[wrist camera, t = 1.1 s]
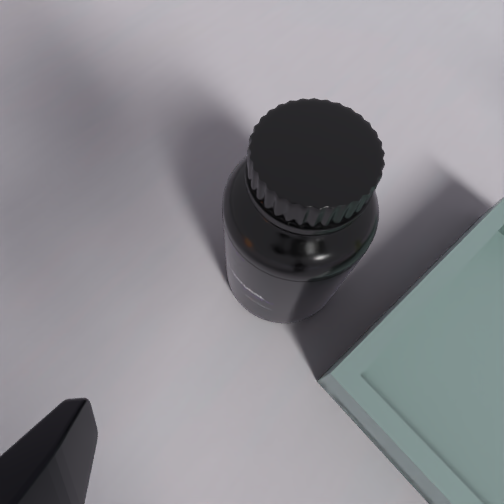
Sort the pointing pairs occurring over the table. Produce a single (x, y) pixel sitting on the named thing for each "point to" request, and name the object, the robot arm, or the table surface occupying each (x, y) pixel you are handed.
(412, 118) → the table surface
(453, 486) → the tray
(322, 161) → the supplement bottle
